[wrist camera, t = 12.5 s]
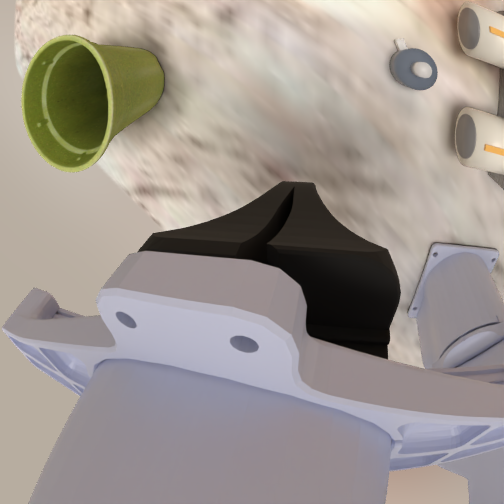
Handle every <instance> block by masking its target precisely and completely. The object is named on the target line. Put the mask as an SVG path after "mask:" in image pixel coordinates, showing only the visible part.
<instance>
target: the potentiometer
mask: <svg viewBox="0 0 504 504" xmlns="http://www.w3.org/2000/svg"><path fill="white" fill-rule="evenodd" d="M394 42H395V44H396V47H397V49H398V51H397V52H396V53H395V54H394V55H393V56H392V57H391V60H390V70H391V73H392V75H393V77H394V78H395V79H396V80H397V81H398V82H399V83H400V84H402V85H404V86H407V87H410V88H413V89H416V90H426V89H428V88H430V87H432V86H433V85H434V83H435V82H436V79H437V67H436V64H435V62H434V60H433V59H432V58H431V57H430V56H429V55H428V54H427V53H426V52H424V51H422V50H419V49H408V48H407V46H406V43H405V41H404V38H402V39H396V40H394Z"/></svg>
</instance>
